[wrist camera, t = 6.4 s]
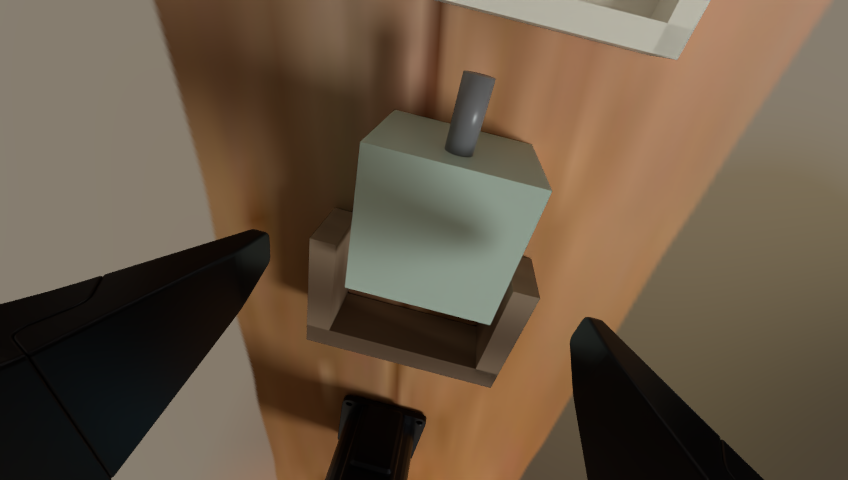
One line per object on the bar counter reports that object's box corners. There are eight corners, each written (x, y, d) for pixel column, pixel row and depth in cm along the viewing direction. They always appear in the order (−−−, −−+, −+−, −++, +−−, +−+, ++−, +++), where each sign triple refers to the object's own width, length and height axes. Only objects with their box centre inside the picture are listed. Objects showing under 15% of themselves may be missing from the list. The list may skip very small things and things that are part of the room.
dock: (489, 344, 21) (490, 387, 18) (327, 302, 21) (306, 339, 18) (531, 259, 17) (539, 298, 15) (334, 207, 17) (309, 238, 15)
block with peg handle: (488, 254, 18) (489, 325, 13) (377, 226, 18) (344, 287, 13) (555, 83, 13) (590, 109, 9) (405, 45, 13) (369, 53, 9)
